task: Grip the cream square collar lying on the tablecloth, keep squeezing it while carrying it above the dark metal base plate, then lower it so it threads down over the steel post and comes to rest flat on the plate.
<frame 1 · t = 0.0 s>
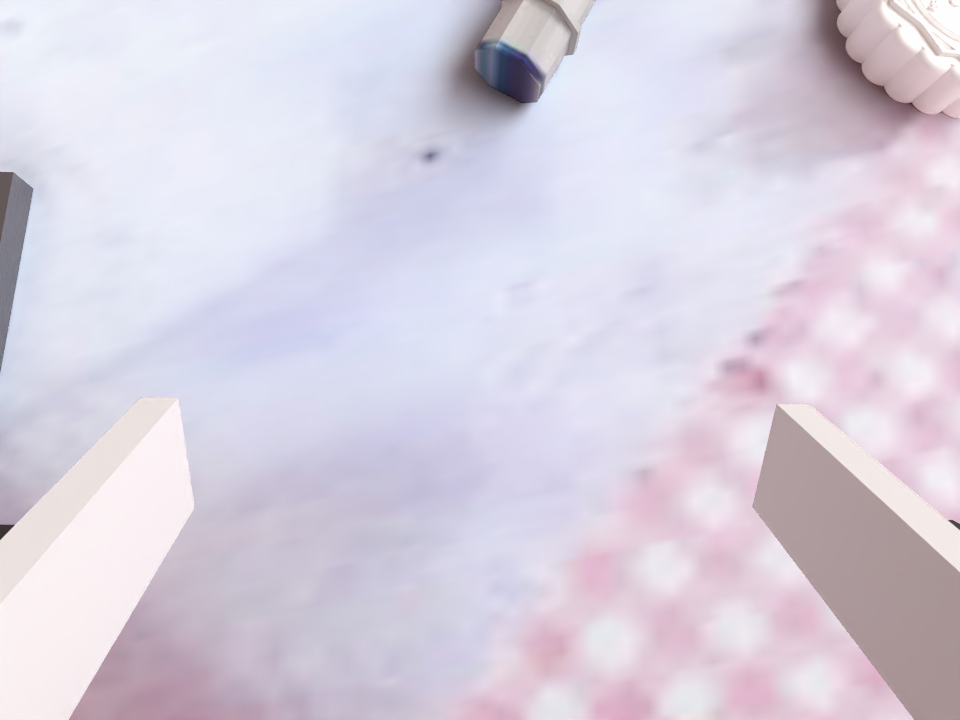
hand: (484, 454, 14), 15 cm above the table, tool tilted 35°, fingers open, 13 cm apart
mooncake: (930, 32, 38), on the table
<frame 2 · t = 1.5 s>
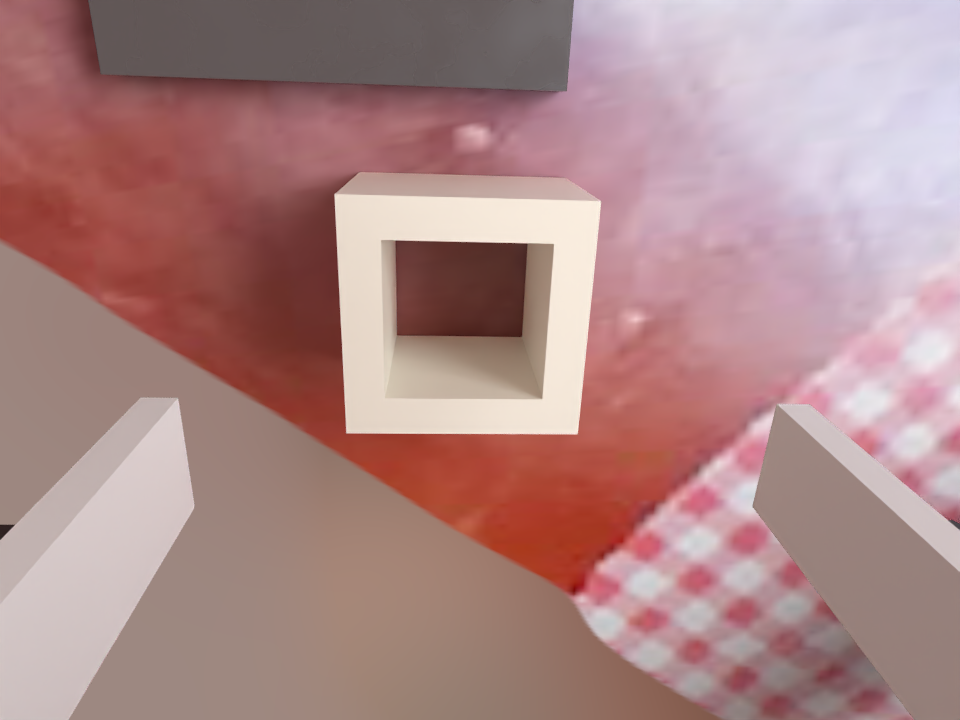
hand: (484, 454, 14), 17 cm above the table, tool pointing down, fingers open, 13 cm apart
collar: (461, 275, 30), on the table
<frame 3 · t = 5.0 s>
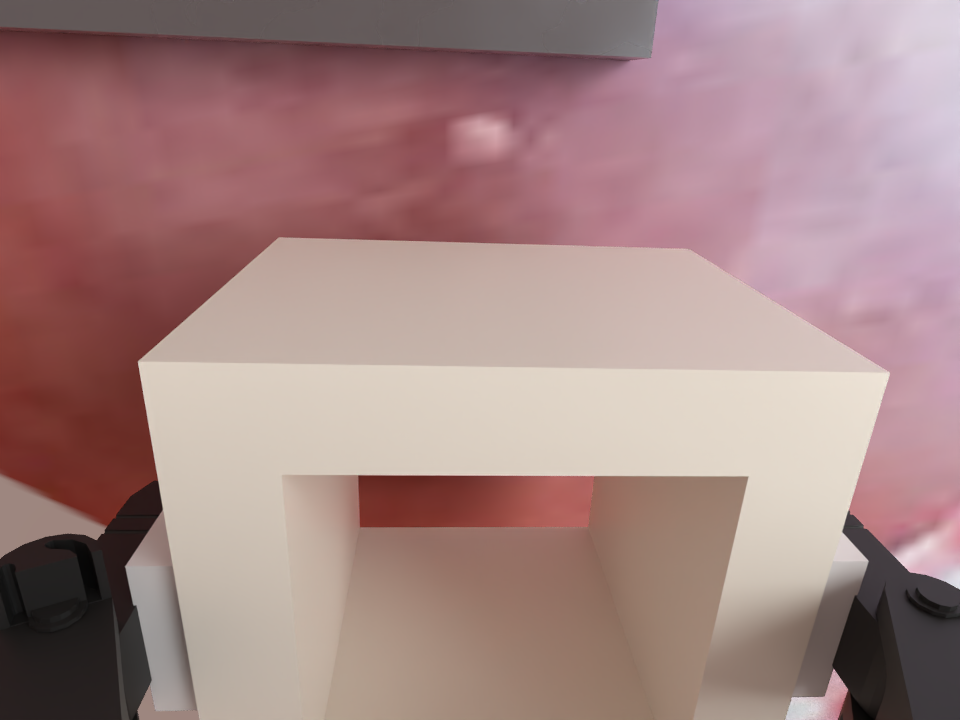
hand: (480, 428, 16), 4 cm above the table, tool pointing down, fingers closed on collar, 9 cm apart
collar: (480, 425, 16), point 3 cm above the table, touching gripper
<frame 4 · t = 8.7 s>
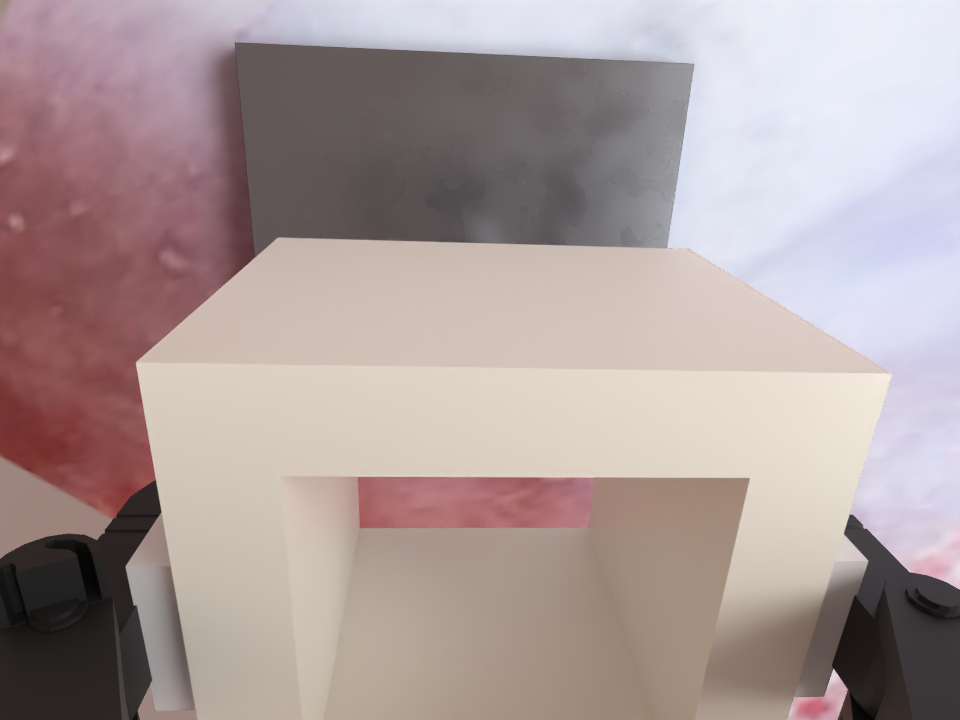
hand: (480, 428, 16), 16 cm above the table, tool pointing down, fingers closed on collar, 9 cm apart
collar: (479, 426, 16), point 15 cm above the table, touching gripper
post base: (462, 268, 30), on the table
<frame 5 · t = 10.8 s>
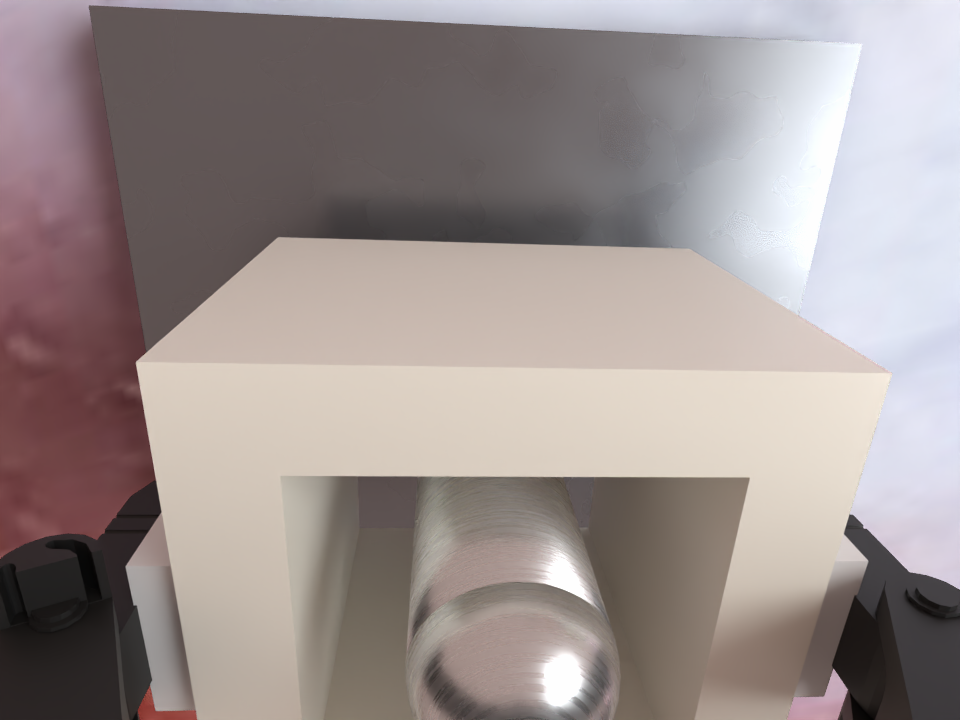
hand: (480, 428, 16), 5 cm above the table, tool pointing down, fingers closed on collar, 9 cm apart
collar: (479, 426, 16), point 4 cm above the table, touching gripper
post base: (474, 360, 20), on the table
when the fingers open (2 cm above the table, at t = 12.4 s): collar stays where it is, resting on post base.
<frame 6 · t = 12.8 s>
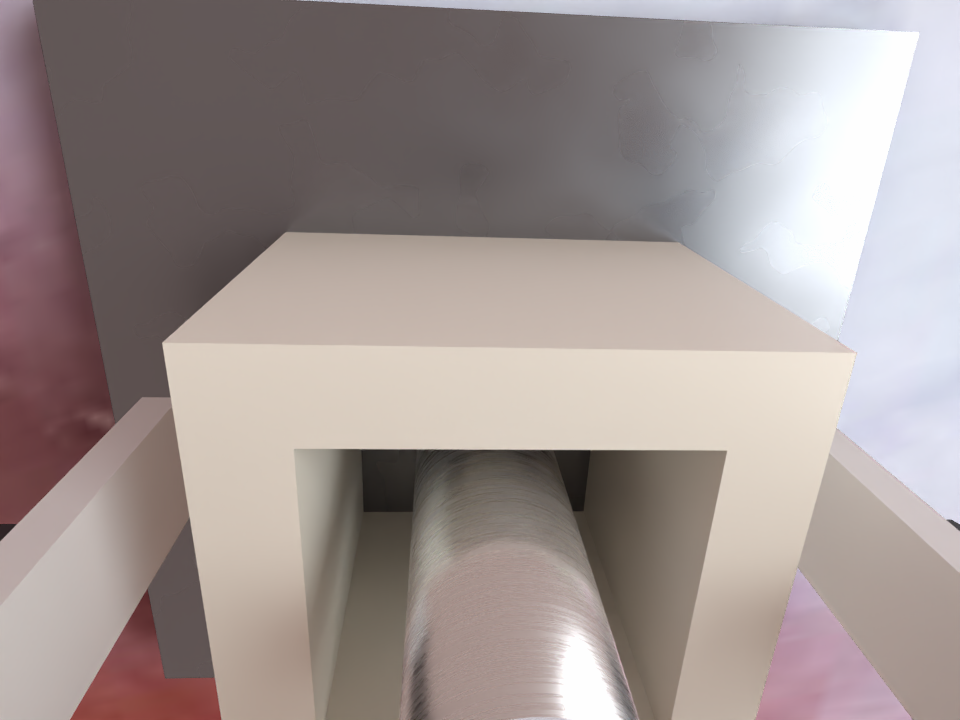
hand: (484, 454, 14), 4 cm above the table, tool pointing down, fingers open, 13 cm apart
collar: (478, 413, 16), point 1 cm above the table, touching post base
post base: (475, 385, 18), on the table
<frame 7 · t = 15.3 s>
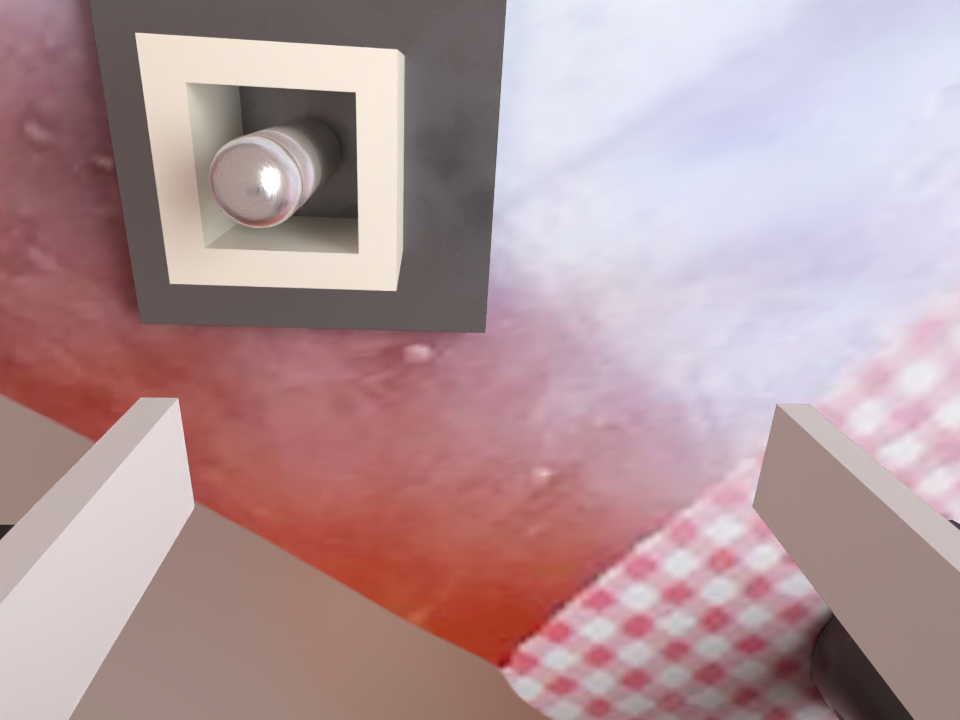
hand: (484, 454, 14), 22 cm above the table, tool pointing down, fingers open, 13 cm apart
collar: (308, 153, 31), point 1 cm above the table, touching post base
post base: (313, 148, 32), on the table
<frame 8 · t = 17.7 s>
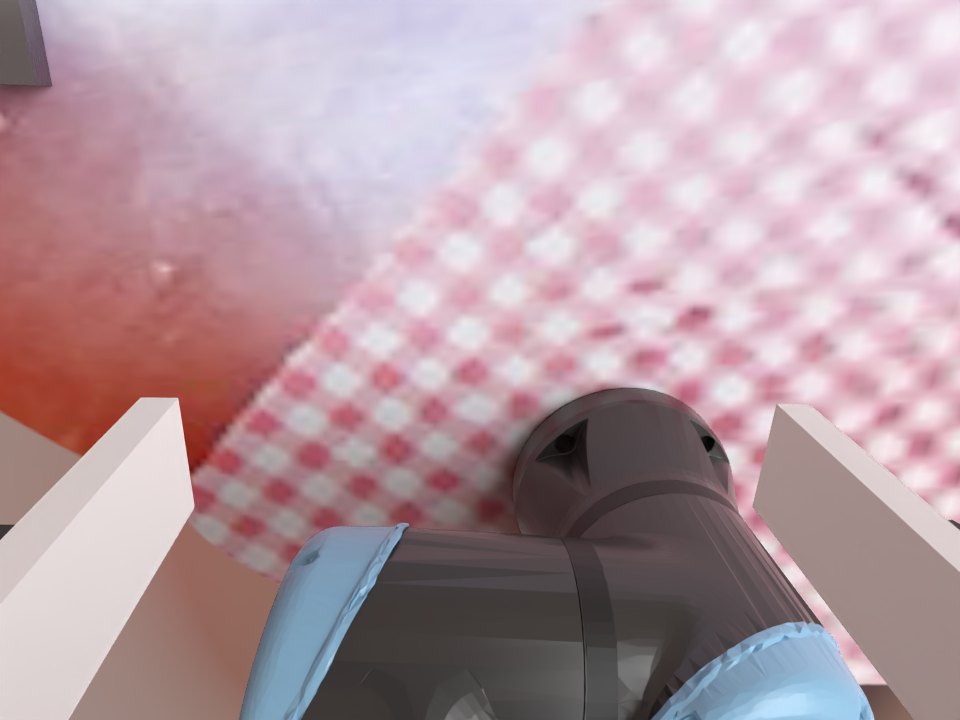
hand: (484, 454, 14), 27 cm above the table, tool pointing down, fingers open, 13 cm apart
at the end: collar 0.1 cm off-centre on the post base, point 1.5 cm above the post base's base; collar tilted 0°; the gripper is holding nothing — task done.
